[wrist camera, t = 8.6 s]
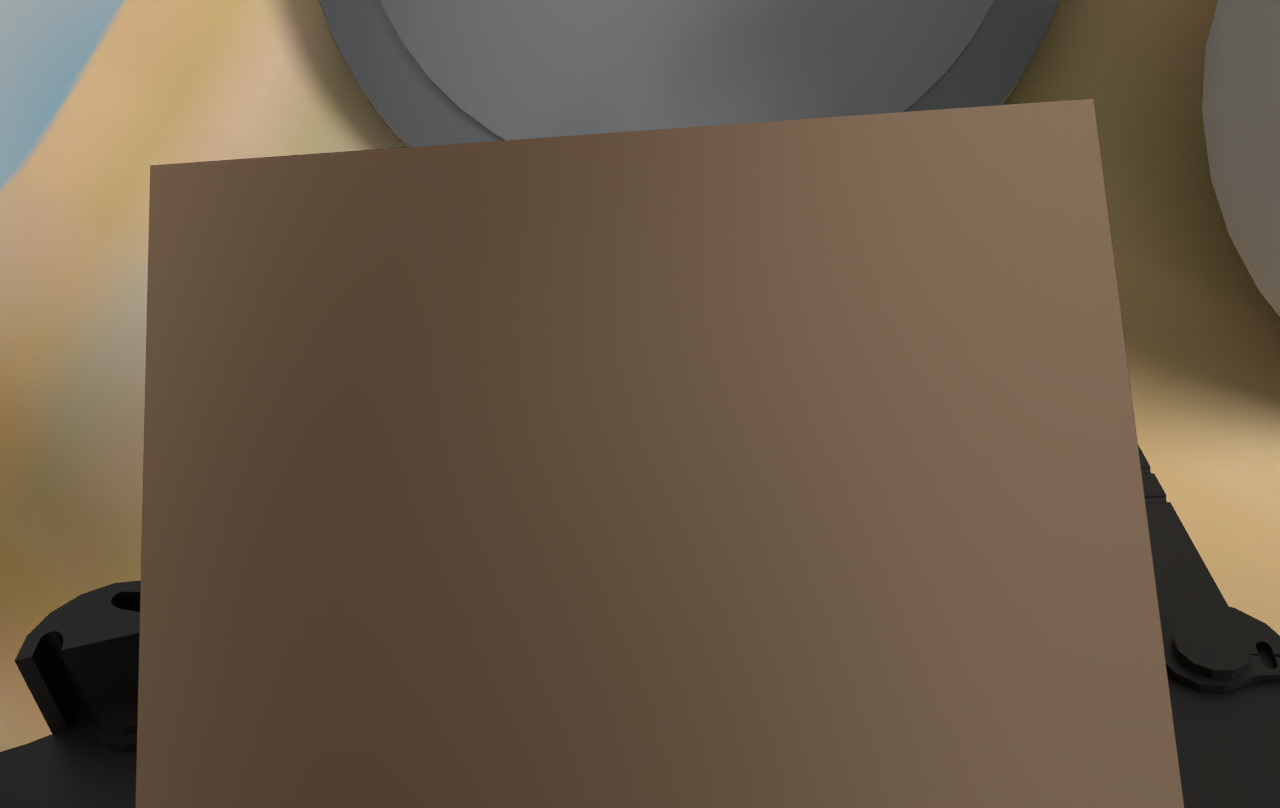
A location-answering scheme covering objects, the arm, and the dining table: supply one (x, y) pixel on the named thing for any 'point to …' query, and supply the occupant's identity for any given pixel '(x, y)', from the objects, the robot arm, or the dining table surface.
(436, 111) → the dish
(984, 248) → the walnut block
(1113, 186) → the dining table surface
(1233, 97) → the jar
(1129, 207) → the dining table surface
